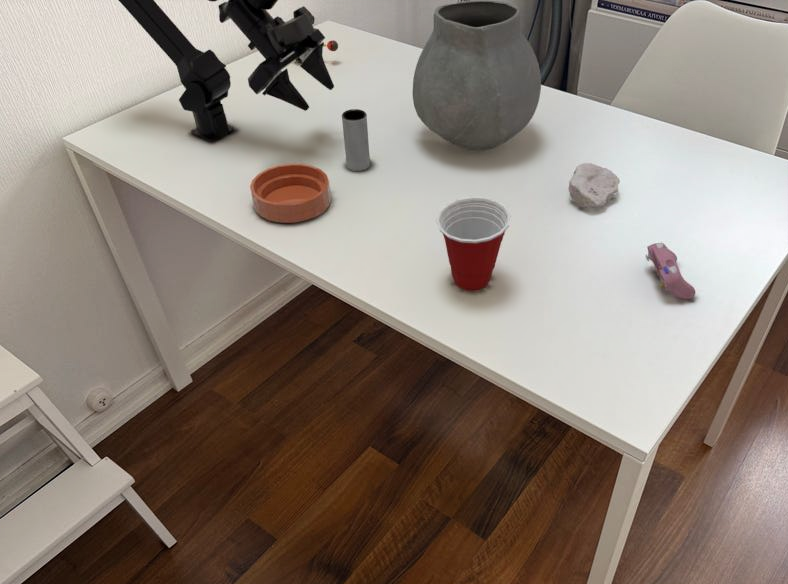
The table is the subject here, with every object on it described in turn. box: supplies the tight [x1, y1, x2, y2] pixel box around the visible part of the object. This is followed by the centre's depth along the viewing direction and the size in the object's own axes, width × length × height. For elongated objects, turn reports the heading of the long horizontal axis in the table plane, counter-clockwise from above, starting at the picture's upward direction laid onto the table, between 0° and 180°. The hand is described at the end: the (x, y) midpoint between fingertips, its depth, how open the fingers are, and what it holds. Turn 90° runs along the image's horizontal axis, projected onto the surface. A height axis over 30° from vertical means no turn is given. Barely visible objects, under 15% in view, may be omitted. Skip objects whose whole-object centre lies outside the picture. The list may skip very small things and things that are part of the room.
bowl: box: [249, 163, 332, 224], centre depth 119 cm, size 14×14×4 cm
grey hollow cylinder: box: [341, 108, 371, 172], centre depth 126 cm, size 4×4×10 cm
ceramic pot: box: [411, 0, 542, 151], centre depth 128 cm, size 24×24×25 cm
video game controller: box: [645, 241, 696, 300], centre depth 103 cm, size 10×5×7 cm, turn 5°
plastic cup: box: [435, 196, 512, 292], centre depth 101 cm, size 11×11×12 cm
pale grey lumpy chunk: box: [568, 162, 621, 209], centre depth 120 cm, size 9×6×10 cm
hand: (320, 98), depth 123 cm, fingers open, 9 cm apart
